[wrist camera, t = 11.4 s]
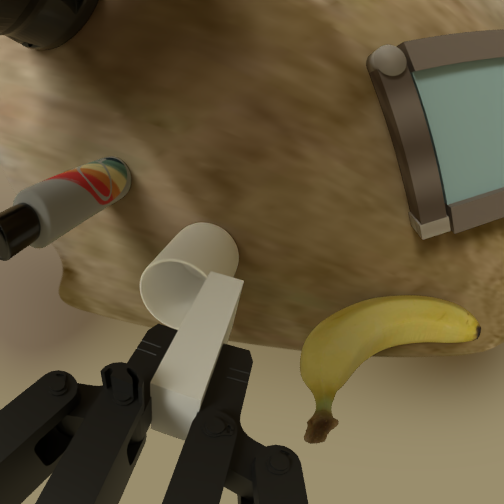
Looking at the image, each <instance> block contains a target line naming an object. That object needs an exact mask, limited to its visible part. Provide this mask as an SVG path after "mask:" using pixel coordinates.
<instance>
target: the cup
mask: <svg viewBox="0 0 504 504" xmlns="http://www.w3.org/2000/svg"><path fill="white" fill-rule="evenodd" d="M238 262H239V252H238V248H237V245H236V243H235V241H234V240H233V238H232V237H231V236H230V234H229V233H228V232H226V231H225V230H224V229H222V228H221V227H219V226H217V225H214V224H211V223H204V222H199V223H194V224H191V225H189V226H187V227H185V228H184V229H182V230H181V231H180V232H179V233H178V234H177V235H176V236H175V237H174V238H173V239H172V240H171V241H170V243H169V244H168V245H167V246H166V247H165V248H164V249H163V250H162V251H161V252H160V253H159V254H158V256H157V257H156V258H155V259H154V260H153V261H152V262H151V263H150V264H149V265H148V267H147V268H146V269H145V270H144V272H143V274H142V276H141V279H140V294H141V297H142V300H143V302H144V304H145V306H146V308H147V309H148V310H149V312H150V313H151V314H152V315H153V316H154V317H155V318H156V319H157V320H159V321H160V322H161V323H163V324H165V325H167V326H169V327H171V328H173V329H176V330H179V328H180V326H181V324H182V322H183V321H184V319H185V317H186V315H187V313H188V311H189V310H190V308H191V306H192V304H193V302H194V300H195V299H196V297H197V295H198V293H199V291H200V290H201V288H202V286H203V284H204V282H205V281H206V279H207V277H208V275H209V273H210V272H211V271H212V272H215V273H219V274H222V275H226V276H229V277H234V275H235V272H236V270H237V267H238Z"/></svg>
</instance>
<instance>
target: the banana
mask: <svg viewBox="0 0 504 504" xmlns="http://www.w3.org/2000/svg"><path fill="white" fill-rule="evenodd" d="M480 332H481V327H480V325H479V323H478V322H477V320H476V318H475V317H474V316H473V315H472V314H471V313H470V312H469V311H467V310H466V309H464V308H463V307H461V306H459V305H457V304H455V303H452V302H450V301H446V300H443V299H438V298H434V297H428V296H418V295H398V296H385V297H377V298H372V299H368V300H364V301H361V302H358V303H355V304H353V305H350V306H348V307H346V308H344V309H342V310H340V311H338V312H336V313H334V314H333V315H331V316H329V317H328V318H326V319H325V320H323V321H322V322H321V323H319V324H318V325H317V326H316V327H315V328H314V329H313V330H312V332H311V333H310V334H309V336H308V337H307V339H306V341H305V343H304V345H303V348H302V352H301V358H300V371H301V376H302V379H303V381H304V382H305V384H306V385H307V387H308V388H309V389H310V390H311V392H312V393H313V395H314V398H315V401H316V411H315V413H314V415H313V416H312V418H311V419H310V420H309V421H308V422H307V424H308V427H307V430H306V433H305V436H304V440H305V441H306V442H308V443H320V442H324V441H325V439H326V437H327V434H328V433H329V432H330V431H331V430H332V429H334V428H335V427H336V426H337V425H338V420H336V419H335V418H333V416H332V413H331V406H332V402H333V400H334V397H335V394H336V392H337V391H338V390H339V389H340V388H341V387H342V386H343V385H344V384H345V383H346V381H347V380H348V379H349V378H350V376H351V375H352V373H354V371H355V370H356V369H357V368H358V367H359V366H360V365H361V364H362V363H363V362H364V361H365V360H367V359H368V358H369V357H371V356H373V355H374V354H376V353H377V352H379V351H381V350H384V349H387V348H390V347H393V346H397V345H402V344H409V343H421V342H441V343H458V342H468V341H474V340H476V339H478V337H479V335H480Z"/></svg>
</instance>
